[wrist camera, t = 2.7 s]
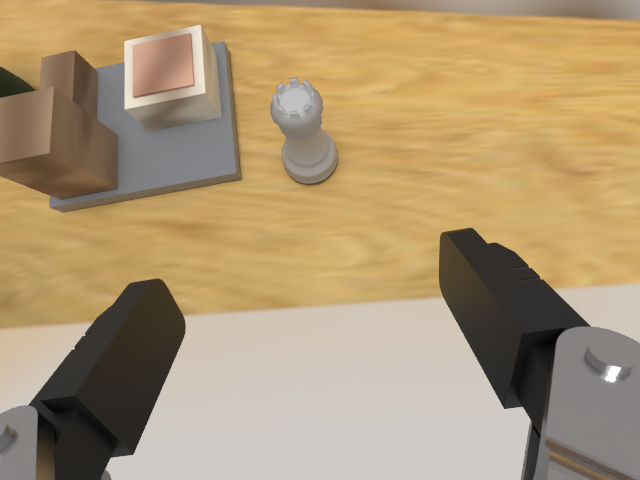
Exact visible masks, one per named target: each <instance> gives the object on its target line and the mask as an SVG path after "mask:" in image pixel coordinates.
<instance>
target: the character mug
mask: <svg viewBox="0 0 640 480" xmlns="http://www.w3.org/2000/svg"><path fill="white" fill-rule="evenodd" d="M31 91H33V90H32V87H31V86H30V85H29V84H28V83H26V82H25V81H24V80H22V79H21V78H19V77H17V76H16V75H14V74H12V73H11V72H9V71H7V70H6V69H4V68H2V67H1V66H0V98H3V97H7V96H12V95H17V94H22V93H27V92H31Z"/></svg>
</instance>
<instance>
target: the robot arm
mask: <svg viewBox="0 0 640 480" xmlns="http://www.w3.org/2000/svg"><path fill="white" fill-rule="evenodd" d="M439 284H440V288H441V292H442V295H443V297H444V299H445V301H446V303H447V305H448V307H449V308H450V310H451V312H452V314H453V316H454V318H455V320H456V321H457V323H458V325H459V327H460V329H461V330H462V332H463V334H464V336H465V338H466V340H467V342H468V343H469V345H470V347H471V349H472V351H473V352H474V354H475V356H476V358H477V360H478V362H479V363H480V365H481V367H482V369H483V371H484V373H485V374H486V376H487V378H488V380H489V382H490V384H491V385H492V387H493V389H494V391H495V393H496V395H497V396H498V398H499V400H500V402H501V404H502V406H503V407H504V409H507V408H515V407H523V408H524V409H525V411H526V413H527V414H528V416H529V417H530V419H531V422H530V426H529V431H528V438H527V444H526V450H525V457H524V463H523V470H522V476H521V480H640V343H638V342H637V341H635V340H633V339H631V338H629V337H627V336H625V335H622V334H620V333H617V332H614V331H611V330H608V329H603V328H598V327H591V326H590V325H589V324H588V323H587V322H586V321H585V320H584V319H583V318H582V317H581V316H580V315H579V314H578V313H577V312H576V311H574V310H573V308H572V307H570V306H569V305H568V304H567V303H566V302H565V301H564V300H563V299H562V298H561V297H560V296H559V295H558V294H557V293H556V292H555V291H554V290H553V289H552V288H551V287H550V286H549V285H548V284H547V283H546V282H545V281H544V280H541V279H540V276H539V275H538V274H537V273H536V272H535V271H534V270H533V269H532V268H529V267H528V264H527V263H526V262H525V261H523V260H522V259H521V258H520V257H519V256H518V255H517V254H516V253H515V252H514V251H512V250H510V249H508V248H506V247H504V246H502V245H500V244H498V243H489V244H487V243H486V242H485V240H484V239H483V238H482V237H481V236H480V235H479V234H478V233H477V232H476V231H475V230H474V229H473V228H466V229H460V230H454V231H448V232H443V233H442V234H441V236H440V254H439ZM85 334H86V335H85V336H82V338H81V339H80V340H79V342H78V343H77V344H76V345H75V350H71V352H70V353H69V354H68V356H67V357H66V358H65V359H64V361H63V362H62V363H61V365H60V366H59V367H58V368H57V370H56V371H55V372H54V373H53V375H52V376H51V377H50V378H49V380H48V381H47V382H46V383H45V385H44V386H43V387H42V389H41V390H40V391H39V392H38V394H37V395H36V396H35V398H34V399H33V400H32V401H31V403H30V404H29V405H28V406H19V407H16V408H12V409H10V410H7V411H5V412H3V413H1V414H0V480H111V477H110V474H109V473H108V471H106V470H105V468H106V466H107V464H108V462H109V460H110V458H111V457H119V456H127V455H133V454H134V452H135V450H136V447H137V445H138V443H139V440H140V438H141V435H142V433H143V431H144V429H145V426H146V424H147V422H148V419H149V417H150V414H151V412H152V410H153V408H154V405H155V403H156V401H157V398H158V396H159V394H160V391H161V389H162V387H163V384H164V382H165V380H166V378H167V375H168V373H169V371H170V368H171V366H172V363H173V361H174V359H175V357H176V355H177V352H178V350H179V348H180V345H181V343H182V341H183V338H184V335H185V320H184V317H183V315H182V313H181V311H180V309H179V307H178V306H177V304H176V302H175V300H174V298H173V297H172V295H171V293H170V291H169V289H168V288H167V286H166V284H165V283H164V282H163V281H162V280H161V279H151V280H145V281H139V282H133V283H130V284H129V285H128V286H127V287H126V288H125V290H124V291H123V292H122V293H121V295H120V296H119V297H118V299H117V300H116V301H115V303H114V304H113V305H112V306H111V307H109V308H108V309H107V310H106V311H105V312H103V313H102V314H101V315H100V316H99V317H97V319H96V320H95V321H94V322H93V324H92V325H91V326H90V328H89V329H88V330H87V331H86V333H85Z"/></svg>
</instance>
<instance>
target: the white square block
mask: <svg viewBox="0 0 640 480" xmlns="http://www.w3.org/2000/svg"><path fill="white" fill-rule="evenodd" d="M125 110H126V111H127V112H128V113H129V114H130V115H131V116H132V117H134V118H135V119H136V120H137V121H138V122H139V123H140V124H141V125H142V126H144V127H145V128H146V129H147V130H148V131H149V132H150V131H155V130H160V129H165V128H170V127H175V126H180V125H185V124H190V123H196V122H201V121H206V120H211V119H216V118H221V117H222V115H221V102H220V90H219V78H218V66H217V55H216V53H215V51H214V49H213V47H212V45H211V43H210V41H209V40H208V38H207V36H206V34H205V32H204V30H203V28H202V26H201V25H198V26H193V27H188V28H184V29H179V30H175V31H170V32H165V33H161V34H156V35H151V36H147V37H142V38H138V39H133V40H128V41H125Z"/></svg>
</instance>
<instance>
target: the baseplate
mask: <svg viewBox="0 0 640 480" xmlns="http://www.w3.org/2000/svg"><path fill="white" fill-rule="evenodd" d="M211 45H212V47H213V49H214V51H215V53H216V55H217V66H218V78H219V90H220V102H221V115H222V117H221V118H216V119H211V120H206V121H201V122H196V123H190V124H185V125H180V126H175V127H170V128H165V129H160V130H155V131H150V132H149V131H148V130H147V129H146V128H145V127H144V126H142V125H141V124H140V123H139V122H138V121H137V120H136V119H135V118H134V117H132V116H131V115H130V114H129V113H128V112H127V111H126V110H125V62H124V63H119V64H115V65H110V66H105V67H100V68H96V69H95V70H96V71H97V72H98V101H97V120H98V121H100V122H101V123H102V124H104V125H105V126H106V127H108V128H109V129H110V130H112V131H113V132H114V133H115V134H117V135H118V189H116V190H111V191H106V192H100V193H95V194H89V195H84V196H79V197H73V198H68V199H63V200H60V199H58V198H55V197H53V196H50V208H52V209H55V210H58V211H61V212H65V211H71V210H76V209H81V208H87V207H92V206H98V205H103V204H109V203H114V202H120V201H125V200H131V199H136V198H142V197H147V196H152V195H158V194H163V193H169V192H174V191H180V190H185V189H191V188H196V187H202V186H207V185H213V184H218V183H224V182H229V181H234V180H240V179H241V171H240V160H239V150H238V139H237V128H236V118H235V107H234V97H233V86H232V75H231V65H230V54H229V50H228V48H227V46H226V44H225V42H224V41H223V42H218V43H214V44H211Z"/></svg>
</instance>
